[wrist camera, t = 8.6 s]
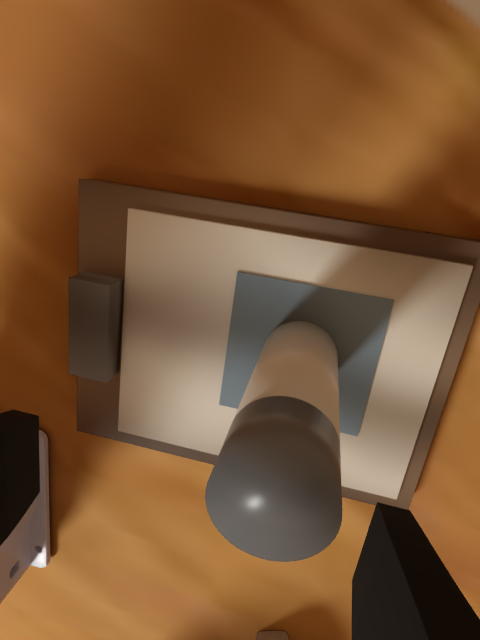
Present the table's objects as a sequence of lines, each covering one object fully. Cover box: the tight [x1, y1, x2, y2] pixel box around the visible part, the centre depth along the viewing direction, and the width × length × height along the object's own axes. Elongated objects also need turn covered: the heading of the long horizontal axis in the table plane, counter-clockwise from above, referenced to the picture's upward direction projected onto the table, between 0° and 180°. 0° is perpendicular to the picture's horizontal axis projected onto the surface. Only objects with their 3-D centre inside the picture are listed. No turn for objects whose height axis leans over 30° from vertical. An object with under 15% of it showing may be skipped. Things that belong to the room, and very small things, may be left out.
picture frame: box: [69, 179, 480, 510], centre depth 18 cm, size 12×16×2 cm
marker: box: [205, 321, 342, 562], centre depth 13 cm, size 3×3×8 cm
